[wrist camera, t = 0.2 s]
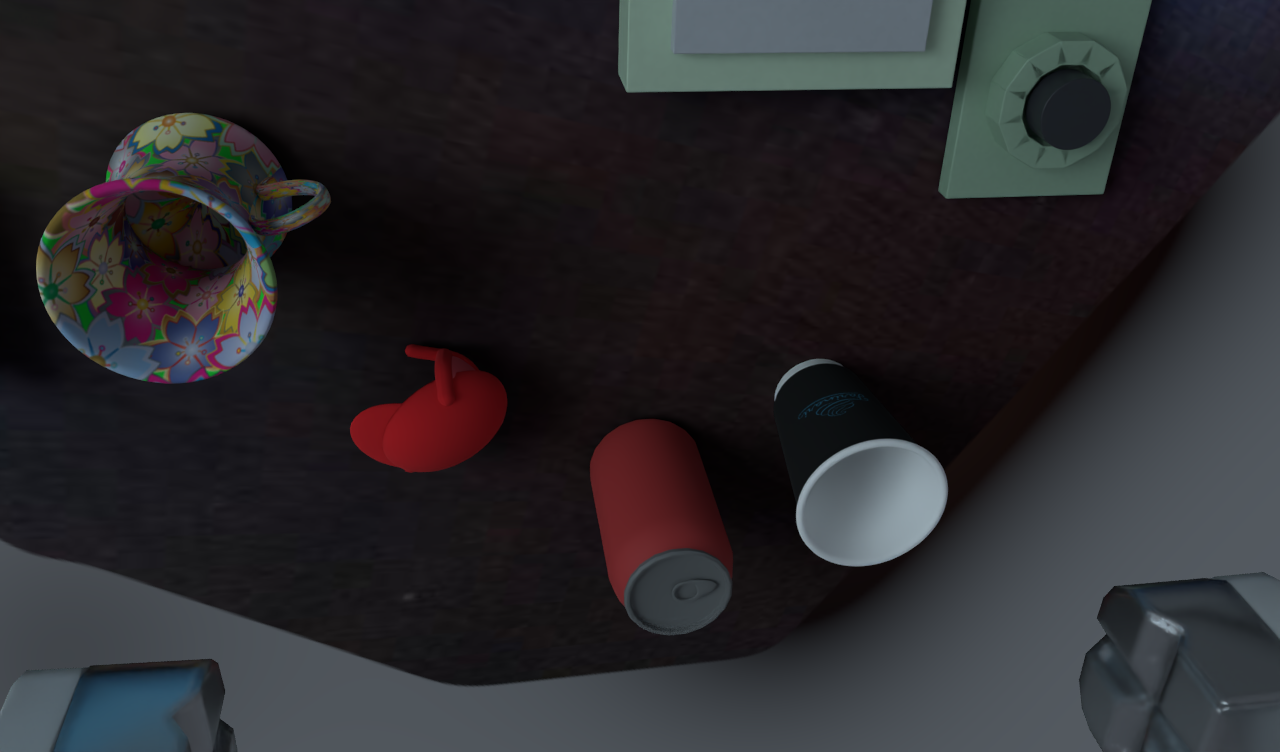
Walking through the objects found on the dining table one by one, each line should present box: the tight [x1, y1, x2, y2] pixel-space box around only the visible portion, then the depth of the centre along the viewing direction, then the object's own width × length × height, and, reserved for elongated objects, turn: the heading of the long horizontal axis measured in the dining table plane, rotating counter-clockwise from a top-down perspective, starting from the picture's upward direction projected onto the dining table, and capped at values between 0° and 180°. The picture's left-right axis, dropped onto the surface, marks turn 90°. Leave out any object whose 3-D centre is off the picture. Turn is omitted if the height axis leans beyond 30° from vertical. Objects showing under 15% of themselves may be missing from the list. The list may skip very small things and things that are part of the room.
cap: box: [350, 344, 507, 472], centre depth 61 cm, size 8×6×6 cm
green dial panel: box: [938, 0, 1152, 199], centre depth 58 cm, size 11×9×3 cm
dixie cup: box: [774, 359, 948, 566], centre depth 63 cm, size 8×8×11 cm
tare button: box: [1026, 69, 1111, 150], centre depth 57 cm, size 4×4×2 cm
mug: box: [36, 113, 331, 383], centre depth 51 cm, size 12×9×11 cm
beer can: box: [590, 419, 733, 635], centre depth 63 cm, size 7×7×12 cm
